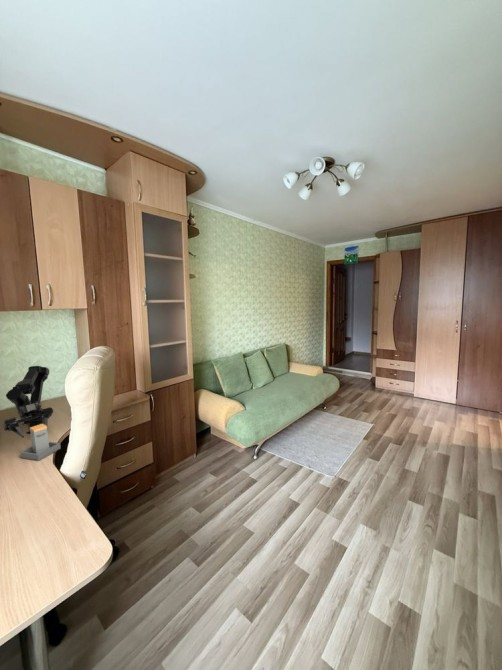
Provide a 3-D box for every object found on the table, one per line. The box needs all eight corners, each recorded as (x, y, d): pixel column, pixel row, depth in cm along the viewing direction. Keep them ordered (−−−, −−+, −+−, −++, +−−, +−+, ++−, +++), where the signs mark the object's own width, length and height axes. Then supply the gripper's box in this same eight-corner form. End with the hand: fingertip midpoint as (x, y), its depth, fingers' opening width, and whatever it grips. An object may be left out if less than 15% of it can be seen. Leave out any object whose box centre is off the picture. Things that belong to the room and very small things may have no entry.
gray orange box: (32, 453, 126) (29, 427, 124) (45, 448, 130) (42, 423, 128) (37, 456, 122) (34, 430, 121) (50, 451, 126) (47, 426, 125)
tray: (20, 458, 122) (20, 452, 122) (43, 446, 133) (42, 440, 132) (38, 461, 120) (38, 455, 120) (60, 448, 130) (60, 443, 130)
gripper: (1, 403, 121) (13, 432, 117) (49, 391, 137) (61, 417, 132) (-2, 416, 127) (9, 444, 122) (45, 403, 142) (56, 428, 137)
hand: (35, 432), depth 128 cm, fingers open, 9 cm apart
